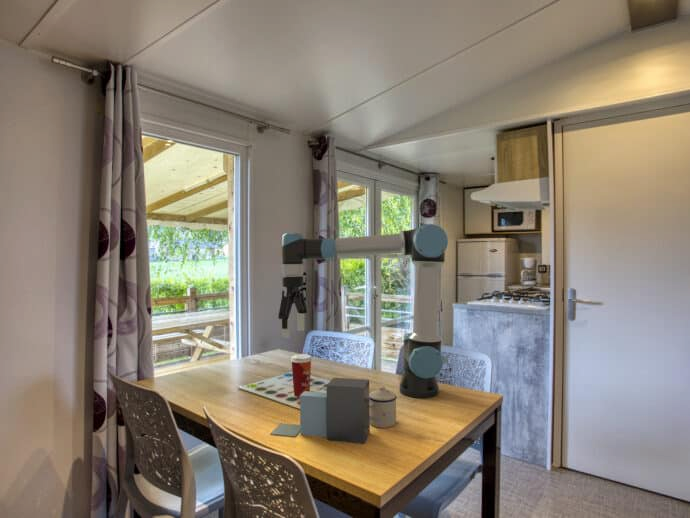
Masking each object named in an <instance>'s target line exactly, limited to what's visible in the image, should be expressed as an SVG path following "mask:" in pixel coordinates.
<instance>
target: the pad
mask: <svg viewBox="0 0 690 518" xmlns="http://www.w3.org/2000/svg"><path fill="white" fill-rule="evenodd" d="M300 433H301V432H300V424H293V423H282V422H280V423H279V424H278V425H277V426H276V427H275V428H274V429H273V430H272V431H271V432H270V436H271V435H272V436H281V437H291V438H292V437H293V438H296V437H297V435H298V434H300Z"/></svg>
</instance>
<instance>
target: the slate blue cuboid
mask: <svg viewBox="0 0 690 518" xmlns="http://www.w3.org/2000/svg"><path fill="white" fill-rule="evenodd" d="M299 414H300V417H299V418H300V419H299V421H300V422H299V425H300V432H299V433H300V436H301V435H302V436H309V437H320V438H327V392H322V391H321V392H319V391H310V392H308V391H304V392H303V393H302V394H301V395H300V397H299Z"/></svg>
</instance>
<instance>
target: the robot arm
mask: <svg viewBox="0 0 690 518" xmlns="http://www.w3.org/2000/svg"><path fill="white" fill-rule="evenodd" d="M448 239H449V238H448V235H447V232H446V231H445V230H444V229H443V228H442V227H441V226H439V225H437V224H434V223H425V224H422V225H420V226H418V227H416V228H412V229H409V230H401V232H399V233H392V234H381V235H379V234H377V235H365V236H353V237H352V236H351V237H339V238H338V237H337V238H328V237H326V238H325V237H324V238H323V237H322V238H304V237H303V233H299V232H296V233H295V232H294V233H292V232H291V233H284V234H283V235H282V238H281V240H282V241H281V243H282V244H281V259H282V260H281V261H282V263H281V265H282V266H281V270H282V275H283V276H282V287H283V288H286V289H285V290H282V293H281V299H280V300H281V301H280V305H279V306H280V307H279V311H278V320H281V338H282V339H290V338H291V328H290V327H291V324H290V323H291V322H290V321H291V318H290V315H291V311H292V307H293V305H294V306H295V309H296V311H297V313H296V331H298V332H300V331H301V332H305V314H307V312H308V311H307V304H306V300H305V295H304V288H303V286H304V277H303V275H304V260H325V261H326V260H334V259H336V258H337V259H338V258H350V257H351V258H352V257H363V256H364V257H365V256H366V257H367V256H379V255H391V254H401V255H402V256H411V263H412V264H413V265H414V267H415V268H414V269H415V272H414V275H415V276H414V293H413V294H414V300H413V319H412V321H413V322H412V332H407V333H405V334H404V335H403V340H402V342H403V374H402V376H401V380H400V383H399V393H400V394H401V395H403V396H407V397H409V398H410V397H411V398H416V399H417V398H418V399H425V398H433V397H436V396H437V395H439V391H440V390H439V389H440V388H439V387H440V386H439V384H438V380H437V378H436V376H437V375H438V374H439V373H440V371H442V368H443V366H444V365H443V364H444V358H443V355H442V353H441V351H442V338H441V337H440V336H439V334H438V324H439V298H440V296H439V295H440V272H441V271H440V270H441V267H442V266H443V265H444V264H445V261H446V260H445V255H446V250H447V248H448V243H449V240H448Z"/></svg>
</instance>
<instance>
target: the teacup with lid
mask: <svg viewBox="0 0 690 518" xmlns="http://www.w3.org/2000/svg"><path fill="white" fill-rule="evenodd" d="M369 411H370V425H371V426H372V427H376V428H381V429H383V428H384V429H386V428H391V427H394V426H395V425H396V424H397V394H396V393H395V392H394V391H391V390H388V389H387V388H386V387H385V386H384V385H380V386H379V387H378V389H376V390H372V391H370V392H369Z"/></svg>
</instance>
